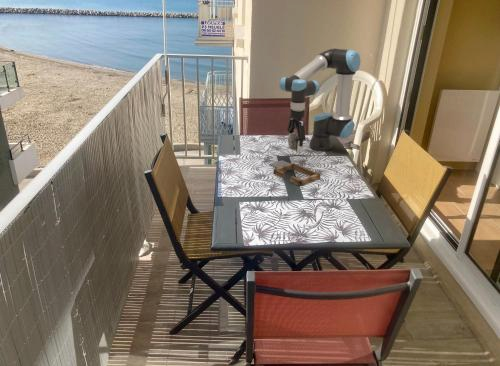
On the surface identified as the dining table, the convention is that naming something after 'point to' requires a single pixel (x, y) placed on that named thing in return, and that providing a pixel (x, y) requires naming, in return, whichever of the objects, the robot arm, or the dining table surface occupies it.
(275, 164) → the slate coaster
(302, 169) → the frame
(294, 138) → the stone
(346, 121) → the robot arm
